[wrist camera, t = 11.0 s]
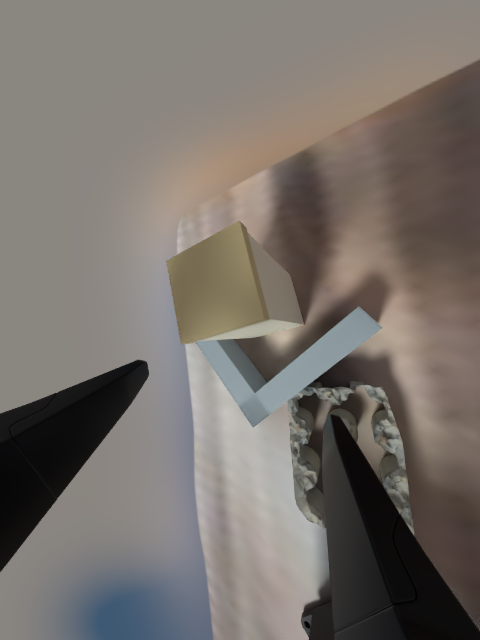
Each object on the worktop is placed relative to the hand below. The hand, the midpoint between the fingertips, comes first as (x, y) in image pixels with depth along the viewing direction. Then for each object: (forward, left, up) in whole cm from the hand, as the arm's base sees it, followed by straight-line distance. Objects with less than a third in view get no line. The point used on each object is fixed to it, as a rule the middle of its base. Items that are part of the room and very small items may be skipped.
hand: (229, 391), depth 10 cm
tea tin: (+5, -2, -11) cm, 13 cm away
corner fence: (+2, -1, -11) cm, 12 cm away
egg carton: (-8, +1, -12) cm, 14 cm away
